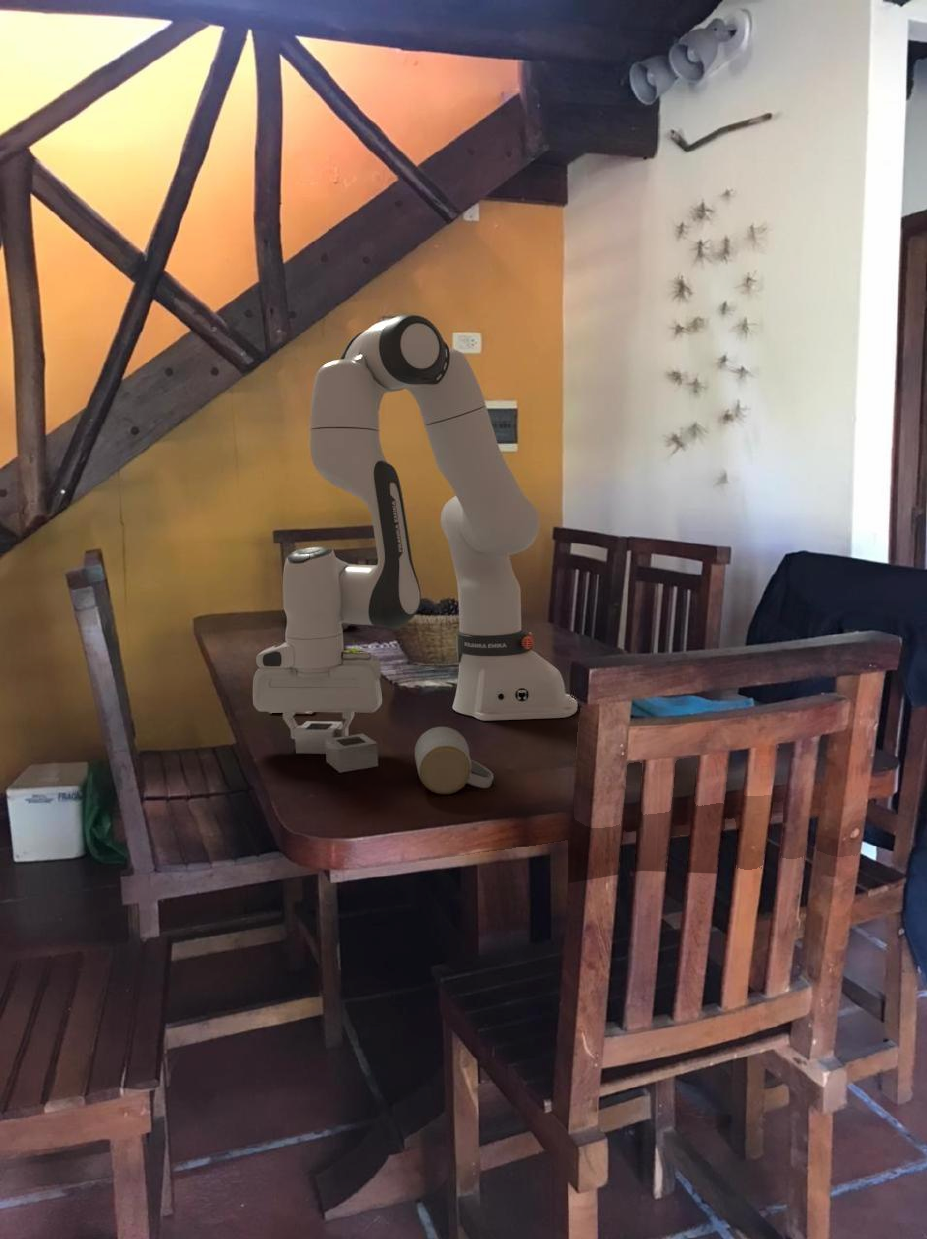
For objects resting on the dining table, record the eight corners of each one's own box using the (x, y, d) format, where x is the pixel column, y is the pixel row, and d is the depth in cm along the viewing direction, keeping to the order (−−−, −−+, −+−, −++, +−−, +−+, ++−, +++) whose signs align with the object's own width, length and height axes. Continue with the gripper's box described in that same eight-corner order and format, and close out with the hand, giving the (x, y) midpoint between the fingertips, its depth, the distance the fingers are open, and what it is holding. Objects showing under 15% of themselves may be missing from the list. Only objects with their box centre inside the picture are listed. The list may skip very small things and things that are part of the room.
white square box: (363, 755, 149) (362, 733, 148) (378, 766, 143) (377, 743, 143) (326, 761, 146) (325, 739, 145) (339, 772, 141) (338, 749, 140)
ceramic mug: (419, 799, 129) (418, 743, 128) (414, 779, 137) (414, 726, 136) (497, 795, 130) (497, 740, 129) (489, 776, 138) (488, 723, 137)
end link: (343, 742, 156) (342, 721, 155) (333, 753, 150) (332, 732, 149) (307, 742, 157) (306, 721, 156) (296, 753, 151) (294, 731, 150)
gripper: (384, 648, 152) (388, 733, 155) (260, 648, 155) (265, 731, 158) (375, 656, 146) (379, 745, 148) (246, 656, 149) (251, 743, 151)
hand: (319, 738), depth 153 cm, fingers closed on end link, 6 cm apart
